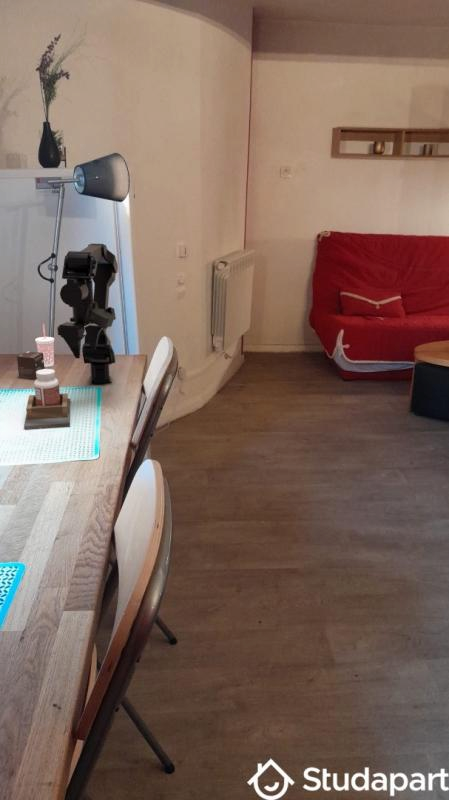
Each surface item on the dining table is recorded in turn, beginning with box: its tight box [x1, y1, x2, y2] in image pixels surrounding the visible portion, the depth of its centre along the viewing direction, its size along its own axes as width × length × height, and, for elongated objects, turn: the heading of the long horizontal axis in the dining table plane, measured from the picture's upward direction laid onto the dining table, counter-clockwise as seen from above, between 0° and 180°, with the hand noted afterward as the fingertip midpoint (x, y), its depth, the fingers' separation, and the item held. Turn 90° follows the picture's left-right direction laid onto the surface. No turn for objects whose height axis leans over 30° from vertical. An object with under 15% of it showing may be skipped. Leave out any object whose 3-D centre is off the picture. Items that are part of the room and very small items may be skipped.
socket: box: [23, 392, 71, 431], centre depth 149 cm, size 18×11×4 cm, turn 14°
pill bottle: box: [33, 368, 61, 407], centre depth 147 cm, size 6×6×11 cm
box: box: [16, 351, 46, 381], centre depth 178 cm, size 6×6×7 cm
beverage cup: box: [35, 323, 55, 368], centre depth 188 cm, size 6×6×14 cm
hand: (85, 353), depth 158 cm, fingers open, 9 cm apart
